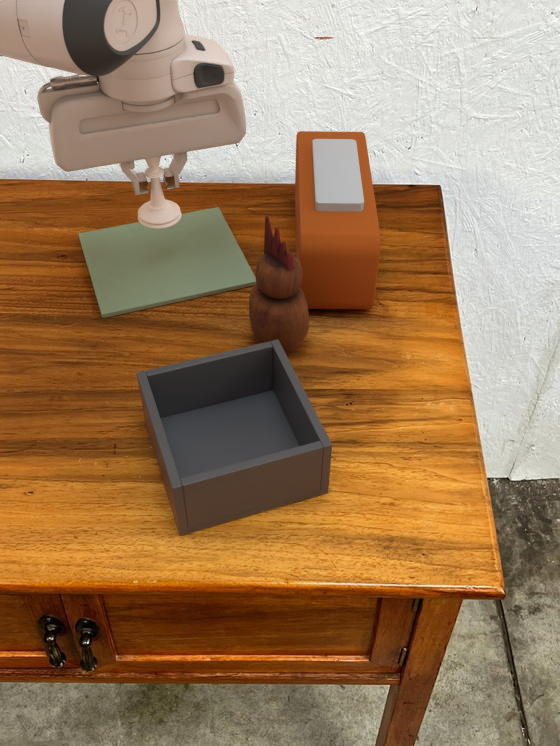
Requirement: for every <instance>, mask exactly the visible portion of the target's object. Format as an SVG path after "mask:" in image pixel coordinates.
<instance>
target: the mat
mask: <svg viewBox="0 0 560 746" xmlns="http://www.w3.org/2000/svg"><path fill="white" fill-rule="evenodd" d="M77 236H78V239H79V243H80V246H81V249H82V253H83V256H84V257H83V258H84V260H85V264H86V267H87V271H88V274H89V277H90V281H91V284H92V287H93V291H94V295H95V298H96V302H97V305H98V309H99V312H100V315H101V318H102V319H106V318H110V317H115V316H120V315H125V314H129V313H134V312H138V311H142V310H148V309H152V308H157V307H162V306H166V305H167V306H168V305H170V304H171V305H172V304H176V303H180V302H185V301H189V300H193V299H199V298H203V297H204V298H205V297H208V296H213V295H218V294H222V293H227V292H231V291H236V290H241V289H244V288H250V287H254V286H255V285H256V276H255V273H254V272H253V269H252V268H251V266H250V264H249V262H248V260H247V258H246V256H245V254H244V252H243V251H242V248H241V247H240V245H239V243H238V240H237V238H236V237H235V235H234V233H233V231H232V230H231V227H230V226H229V224H228V222H227V219H225V216H224V214H223V213H222V211H221V209H220V206H215V207H211V208H205V209H199V210H195V211H190V212H184V213H181V219H180V220H179V221H178V222H177V223H176V224H174V225H172V226H170V227H167V228H160V229H155V228H149V227H146V226H144V225H142V224H141V223H140V222H139V221H135V222H131V223H126V224H125V223H124V224H120V225H115V226H111V227H110V226H109V227H105V228H99V229H95V230H88V231H83V232H79V233H77Z"/></svg>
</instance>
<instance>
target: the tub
mask: <svg viewBox="0 0 560 746" xmlns="http://www.w3.org/2000/svg"><path fill="white" fill-rule="evenodd" d="M136 378H137V379H136V380H137V384H138V390H139V395H140V401H141V407H142V412H143V417H144V423H145V426H146V430H147V433H148V436H149V439H150V442H151V446H152V449H153V452H154V453H153V454H154V456H155V459H156V462H157V467H158V470H159V473H160V476H161V479H162V482H163V486H164V488H165V492H166V496H167V498H168V499H167V500H168V502H169V505H170V508H171V512H172V516H173V518H174V522H175V526H176V528H177V531H178V535H179V536H180V537H182V536H184V535H188V534H191V533H195V532H198V531H201V530H205V529H209V528H213V527H215V526H220V525H223V524H226V523H229V522H233V521H237V520H239V519H243V518H247V517H251V516H253V515H257V514H260V513H264V512H268V511H272V510H274V509H278V508H281V507H285V506H288V505H292V504H295V503H299V502H302V501H306V500H309V499H312V498H316V497H319V496H322V495H326V494H329V486H330V474H331V464H332V463H331V462H332V452H333V443H332V442H331V440H330V438H329V436H328V434H327V432H326V429H325V428H324V426H323V424H322V422H321V420H320V418H319V415H318V414H317V412H316V409H315V408H314V406H313V404H312V402H311V400H310V399H309V396H308V394H307V393H306V390H305V389H304V387H303V385H302V383H301V381H300V379H299V377H298V375H297V373H296V371H295V369H294V367H293V365H292V363H291V361H290V359H289V357H288V354H287V355H286V353H285V351H284V349H283V347H282V345H281V344H280V342H279V340H278V339H277V340H273V341H271V342H270V341H269V342H265V343H260V344H257V343H256V344H253V345H249V346H248V345H247V346H243V347H239V348H236V349H231V350H227V351H223V352H218V353H214V354H209V355H205V356H201V357H197V358H192V359H188V360H184V361H180V362H175V363H172V364H167V365H162V366H159V367H155V368H149V369H146V370H142V371H136Z"/></svg>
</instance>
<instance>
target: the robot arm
mask: <svg viewBox="0 0 560 746" xmlns="http://www.w3.org/2000/svg"><path fill="white" fill-rule="evenodd" d="M184 27H185V26H184V23H183V21H182V18H181V16H180V11H179V0H0V57H6V58H9V59H13V60H18V61H21V62H25V63H28V64H29V63H30V64H32V65H33V64H34V65H38V66H42V67H45V68H51V69H55V70H60V71H62V72H63V71H64V72H68V73H72V75H67V76H63V75H60V76H59V75H58V76H54V77H51V78H49V82H46V83H45V84H43V85H42V86H41V87H40V88H39V90H38V92H37V96H36V97H37V98H36V99H37V105H38V107H39V112H40V115H41V117H42V118H43V119H44V121H46V122H47V123H48V130H49V131H48V133H49V140H50V146H51V150H52V156H53V158H54V162H55V165H56V166H57V167H58V168H60V169H61V170H62V171H64V172H67V173H69V172H75V171H82V170H88V169H93V168H99V167H100V168H101V167H106V166H111V165H116V164H119V167H120V169H121V172H123V174H124V175H125V176H126V177H127V179H129V180H130V181H131V187H132V190H133V192H134V195H135V196H139V195H144V194H145V195H146V194H149V193H150V191H149V182H148V179H147V177H146V176H145V171H141V172H136V170H135V161H140V160H145V159H147V158H153V157H159V156H161V157H165V156H171V155H172V159H171V161H170V163H169V166H168V167H165V168H164V167H163V168H162V169H163V170H164V175H163V176H162V181H163V185H164V187H165V189H166V190H172V189H177V188H180V176H179V175H181V173H182V171H183V169H184V168H185V165H186V163H187V162H188V152H194V151H200V150H207V149H212V148H219V147H224V146H229V145H236V144H240V143H241V141H243V139H244V138H245V136H246V134H247V120H246V119H247V118H246V111H245V104H244V100H243V96H242V93H241V91H240V89H239V88H238V85H237V83H236V82H235V80H234V79H235V66H234V64H233V61H232V59H231V58H230V56H229V54H228V53H227V52H226V50H225V49H224V48H223V46H222V45H220V44H219V42H217V41H216V40H215V39H212V38H208V37H202V36H198V35H193V34H187V33H185V28H184Z"/></svg>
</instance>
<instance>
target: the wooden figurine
mask: <svg viewBox="0 0 560 746" xmlns="http://www.w3.org/2000/svg"><path fill="white" fill-rule="evenodd" d="M263 235H264V238H263V254H262V255H261V256H260V257H259V258H258V259H257V263H256V266H255V273H254V275H255V277H256V285H255V286H252V288H251V291H250V293H249V301H248V317H249V321H250V323H249V324H250V327H251V331H252V333H253V337H254V340H255V342H256V344H260V343H265V342H269V341H270V342H271V341H273V340H277V339H278V340H279V342H280V344H281V345H282V347H283V349H284V351H285V353H286V355H287V356H288V355H290V354H292V353H294V352H296V351H297V350H298V349H299V348H300V346H301V345H302V343H303V342H304V341H305V339H306V337H307V334H308V332H309V329H310V315H309V314H310V313H309V309H308V305H307V302H306V299H305V296H304V293H303V291H302V290H301V288H300V287H301V283H302V267H301V264H300V261H299V259H298V258H297V257H296V254H295V253H293V252H291V251H290V250H288V249H287V242H286V241H285V240H284V241H281V235H280V228H279V227H275V228H274V234H273V230H272V225H271V221H270V217H269V216H268V215H265V216H264V234H263Z"/></svg>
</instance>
